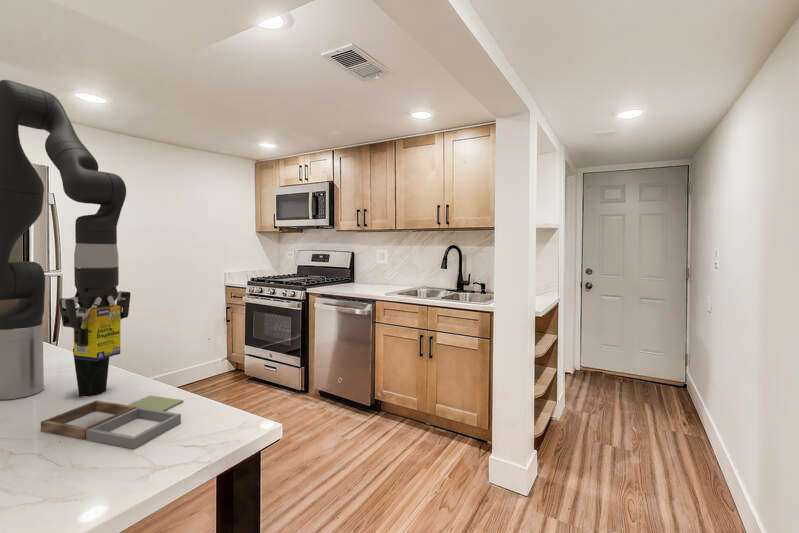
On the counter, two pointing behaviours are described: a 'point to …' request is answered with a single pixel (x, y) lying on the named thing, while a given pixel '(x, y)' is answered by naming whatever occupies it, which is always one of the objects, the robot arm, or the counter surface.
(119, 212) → the robot arm
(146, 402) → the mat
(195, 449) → the counter surface
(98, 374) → the cup
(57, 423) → the walnut tray
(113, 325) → the supplement box
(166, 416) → the grey tray
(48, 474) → the counter surface
